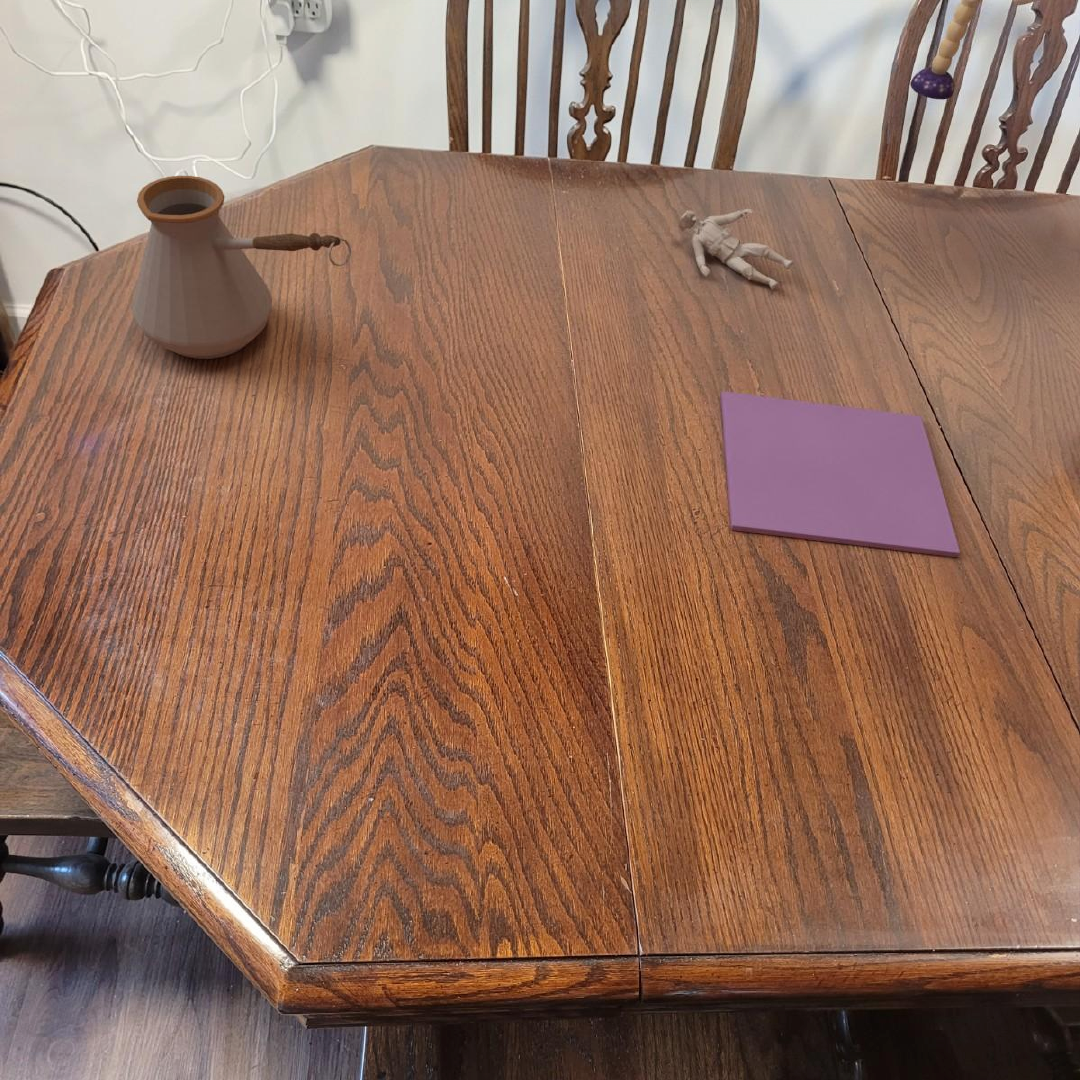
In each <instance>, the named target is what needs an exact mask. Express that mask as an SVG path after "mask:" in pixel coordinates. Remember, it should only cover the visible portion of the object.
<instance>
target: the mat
mask: <svg viewBox="0 0 1080 1080" xmlns="http://www.w3.org/2000/svg"><path fill="white" fill-rule="evenodd" d="M720 408H721V420H722V421H721V422H722V433H723V447H724V459H725V473H726V485H727V496H728V510H729V521H730V522H729V523H730V529H731V530H730V531H735V532H736V531H737V532H743V533H744V532H745V533H752V534H753V533H754V534H762V535H770V536H779V537H784V538H785V537H786V538H793V539H803V540H811V541H817V542H818V541H819V542H828V543H836V544H844V545H851V546H860V547H869V548H876V549H885V550H893V551H900V552H910V553H919V554H926V555H933V556H943V557H951V558H958V557H959V556H960V554H961V550H960V546H959V544H958V540H957V536H956V533H955V529H954V526H953V522H952V519H951V516H950V511H949V508H948V504H947V502H946V501H947V500H946V498H945V494H944V491H943V487H942V484H941V481H940V476H939V473H938V469H937V466H936V463H935V460H934V455H933V453H932V452H933V451H932V449H931V445H930V441H929V437H928V434H927V431H926V428H925V424H924V421H923V417H922V416H921V415H917V414H915V415H914V414H907V413H900V412H891V411H883V410H876V409H868V408H859V407H852V406H844V405H835V404H828V403H820V402H812V401H803V400H797V399H796V400H795V399H788V398H780V397H772V396H763V395H757V394H749V393H748V394H747V393H739V392H732V391H724V390H723V391H721V393H720Z"/></svg>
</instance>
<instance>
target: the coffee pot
mask: <svg viewBox="0 0 1080 1080" xmlns="http://www.w3.org/2000/svg"><path fill="white" fill-rule="evenodd" d="M225 197H226V196H225V194H224V192H223V190H222V188H221V187H220V186H219V185H218V184H217V183H215V182H214V181H212V180H210V179H207V178H203V177H201V176H195V175H194V176H193V175H173V176H166V177H163V178H157V179H155V180H154V181H151V182H149V183H147V184H146V185H145V186H143V187H142V188H141V190H140V191H139V192H138V194H137V200H136V203H137V206H138V208H139V210H140V212H141V213H142V215H143V216H144V217H145V218H146V219H147V220H148V221H150V223H151V224H150V227H149V231H148V236H147V240H146V243H145V244H146V245H145V248H144V253H143V257H142V260H141V265H140V268H139V273H138V277H137V280H136V281H137V282H136V286H135V290H134V293H133V298H132V301H131V314H132V317H133V321H134V323H135V324H136V326H137V328H139V329H140V331H141V332H142V333H143V334H144V336H146V338H148V340H150V341H151V342H153V343H155V344H156V345H158V347H161V348H162V349H165V350H168V351H170V352H174V353H176V354H178V355H181V356H183V357H186V358H191V359H197V360H210V359H217V358H222V357H223V358H224V357H226V356H229V355H232V354H235V353H236V352H238V351H239V350H241V349H243V348H244V347H246V346H247V344H249V343H250V342H252V341H253V340H254V339H255V338H256V337H258V335H259V334H260V333H261V332H262V331H263V330H264V329H265V327H266V324H267V323H268V321H269V319H270V317H271V313H272V309H273V296H272V294H271V292H270V289H269V287H268V285H267V284H266V283H265V281H264V279H263V278H262V276H261V275H260V274H259V272H258V271H257V268H255V266H254V265H253V263H252V262H251V261H250V259H249V258H248V256H247V255H246V254H245V252H244V250H248V249H256V250H266V251H284V252H285V251H286V252H297V251H300V250H304V249H311V250H312V251H319V250H320V249H322V248H327V249H328V251H327V255H328V260H329V261H330V263H331V264H332V265H333V266H336V267H341V266H345V265H347V263H348V262H349V260H351V255H352V246H351V244H350V243H349V241H348V240H347V239H344V238H340V237H339V236H335V235H329V234H325V235H323V236H321V235H320V234H319V233H317V232H313V233H310V235H305V234H304V235H303V234H297V233H283V234H282V233H281V234H274V235H273V234H272V235H263V236H256V237H234V236H233V235H232V233H231V231H230V230H229V229H228V228H227V226H226V225H225V223H224V222H223V220H222V219H221V217H220V210H221V209H222V208H223V206H224V204H225ZM342 242H344V243H345V244H346V246H347V250H348V254H347V257H346V259H345V260H344V262H343V263H336V262H335V261H334V260H333V258H332V257H333V256H332V250H333V248H334V247H337V246H340V244H341V243H342Z"/></svg>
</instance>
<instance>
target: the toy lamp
mask: <svg viewBox="0 0 1080 1080" xmlns="http://www.w3.org/2000/svg"><path fill="white" fill-rule="evenodd" d="M980 2H981V0H976V1H974V2H971V3H970V2H968V1H967V0H961V1H960V3H959V4H958V5H957V6H956V8H955V10H954V14H953V20H951V21H950V23H949V24H948V26H947V28H946V31H945V37H944V38H943V39H942V41H941V42H940V44H939V47H938V53H937V54H936V55H935V57H934V58H933V60H932V63H931V66H929V67H925V68H923V69H920V70H919V71H918V72H917V73H915V75H914V76H913V77H912V78H911V81H910V82H909V86H910V88H911V89H912V90H913V91H914V92H915V93H917V94H918V95H920V96H923V97H925V98H928V99H933V100H948V99H950V98H952V97H953V95H954V92H955V79H954V78H953V75H952V74H951V73H950V72H949V69H950V67H951V65H952V63H953V58H954V56H955V55H956V54H957V53H958V50H959V48H960V45H961V41H962V39H964V37H965V35H966V34H967V31H968V26H969V23H970V22H971V21H972V20H973V19H974V16H975V13H976V10H977V5H979V3H980Z"/></svg>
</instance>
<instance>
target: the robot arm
mask: <svg viewBox="0 0 1080 1080" xmlns="http://www.w3.org/2000/svg"><path fill="white" fill-rule="evenodd" d="M967 1H968V2H970V3H971V2H974V1H976V0H967ZM1012 1H1013V3H1014V4H1015V5H1016V6H1024V5H1028V4H1033V3H1034V2H1037V1H1038V0H1012Z"/></svg>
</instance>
